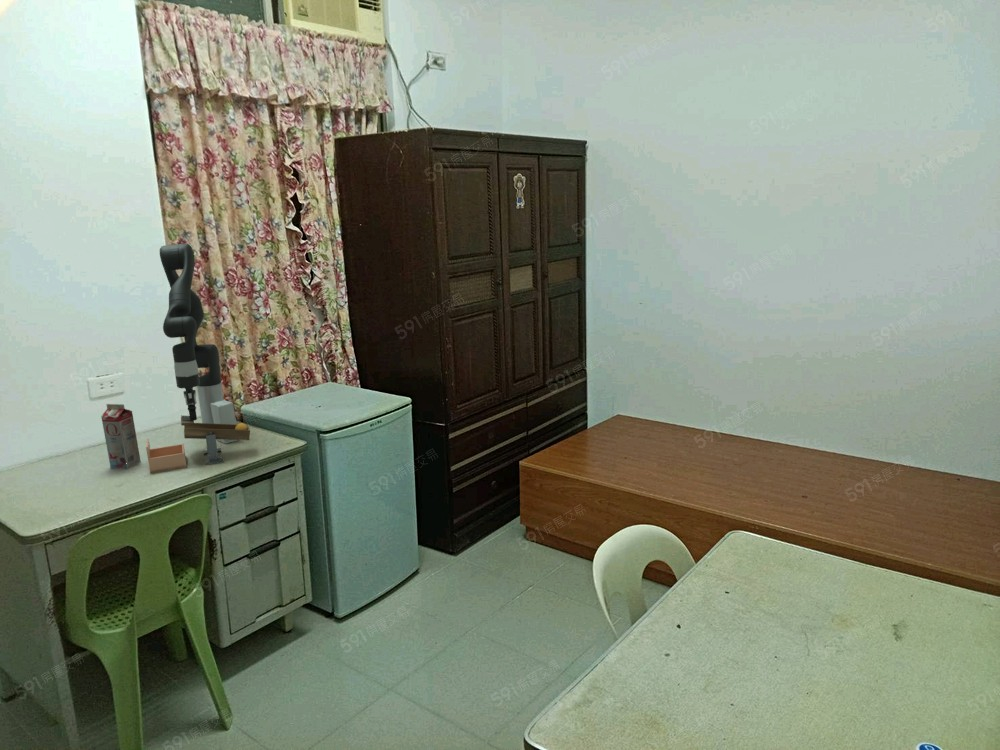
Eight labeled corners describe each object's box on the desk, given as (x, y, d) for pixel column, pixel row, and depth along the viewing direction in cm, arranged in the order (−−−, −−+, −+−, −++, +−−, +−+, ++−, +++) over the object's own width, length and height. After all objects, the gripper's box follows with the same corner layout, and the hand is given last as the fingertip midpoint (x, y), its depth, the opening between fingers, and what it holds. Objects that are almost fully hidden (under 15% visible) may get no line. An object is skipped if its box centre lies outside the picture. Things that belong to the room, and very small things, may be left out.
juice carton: (127, 468, 240) (116, 407, 234) (110, 468, 241) (99, 406, 236) (140, 461, 246) (130, 401, 241) (124, 461, 247) (113, 401, 242)
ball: (234, 433, 251) (234, 422, 250) (246, 432, 253) (246, 421, 252) (235, 436, 248) (235, 425, 247) (247, 435, 249) (247, 424, 248)
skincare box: (239, 440, 265) (234, 402, 262) (224, 444, 261) (218, 406, 257) (230, 435, 271) (225, 398, 267) (214, 439, 267) (209, 402, 263)
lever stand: (203, 452, 253) (199, 426, 250) (221, 450, 255) (217, 423, 253) (205, 465, 240) (201, 437, 238) (223, 461, 243) (220, 434, 240)
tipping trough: (180, 424, 254) (181, 414, 253) (244, 427, 263) (245, 417, 263) (181, 438, 238) (182, 427, 237) (249, 440, 247) (250, 430, 247)
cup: (150, 462, 244) (146, 438, 242) (185, 457, 249) (182, 433, 247) (150, 473, 235) (146, 447, 232) (186, 467, 239) (182, 442, 237)
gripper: (174, 370, 251) (181, 414, 255) (175, 378, 239) (182, 424, 242) (197, 368, 254) (203, 410, 258) (199, 375, 242) (205, 420, 245)
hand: (193, 417), depth 250 cm, fingers open, 8 cm apart
